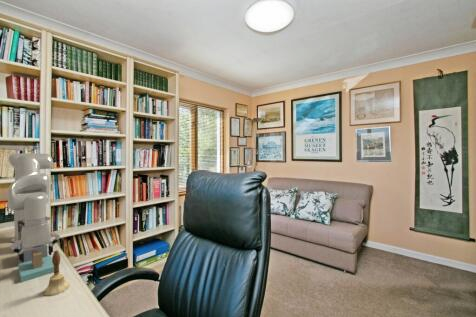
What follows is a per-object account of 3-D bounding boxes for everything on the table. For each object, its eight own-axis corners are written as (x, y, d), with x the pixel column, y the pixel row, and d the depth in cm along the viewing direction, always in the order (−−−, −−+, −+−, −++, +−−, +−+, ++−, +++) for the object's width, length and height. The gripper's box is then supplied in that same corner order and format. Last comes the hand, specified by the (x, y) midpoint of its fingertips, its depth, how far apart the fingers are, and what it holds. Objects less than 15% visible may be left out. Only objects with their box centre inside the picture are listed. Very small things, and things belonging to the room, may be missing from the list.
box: (17, 256, 118) (17, 243, 118) (43, 250, 126) (43, 238, 126) (19, 266, 109) (19, 252, 109) (47, 258, 117) (47, 245, 116)
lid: (18, 269, 106) (17, 251, 106) (50, 260, 115) (50, 244, 115) (21, 282, 96) (20, 262, 96) (56, 271, 105) (55, 253, 104)
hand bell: (74, 285, 94) (73, 248, 93) (52, 298, 86) (51, 257, 85) (61, 281, 97) (60, 245, 96) (38, 293, 89) (37, 253, 88)
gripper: (57, 216, 114) (58, 249, 114) (8, 224, 101) (10, 261, 101) (60, 219, 108) (61, 254, 109) (9, 228, 96) (11, 267, 96)
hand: (36, 257), depth 105 cm, fingers open, 9 cm apart
